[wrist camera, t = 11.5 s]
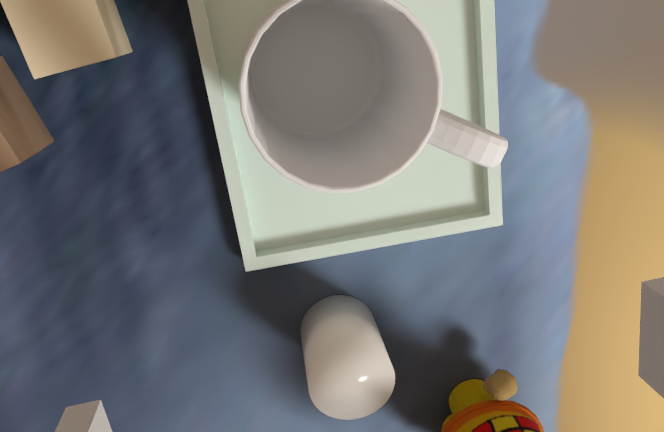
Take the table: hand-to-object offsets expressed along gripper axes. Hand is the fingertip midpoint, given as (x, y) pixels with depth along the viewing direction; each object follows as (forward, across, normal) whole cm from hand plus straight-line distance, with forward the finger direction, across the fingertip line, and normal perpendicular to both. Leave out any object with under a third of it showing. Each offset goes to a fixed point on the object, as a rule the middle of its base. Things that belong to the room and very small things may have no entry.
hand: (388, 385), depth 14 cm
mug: (+21, +3, +4) cm, 22 cm away
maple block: (+22, -10, +12) cm, 27 cm away
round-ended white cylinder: (+22, 0, -11) cm, 24 cm away
